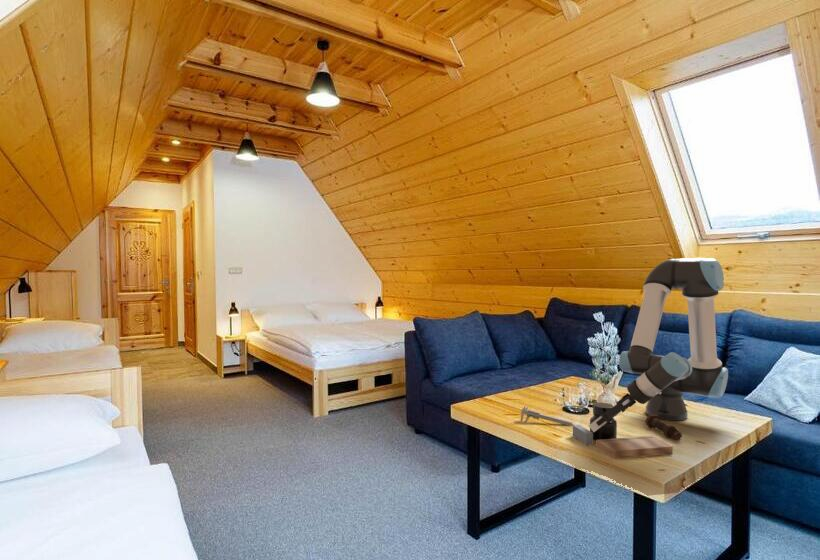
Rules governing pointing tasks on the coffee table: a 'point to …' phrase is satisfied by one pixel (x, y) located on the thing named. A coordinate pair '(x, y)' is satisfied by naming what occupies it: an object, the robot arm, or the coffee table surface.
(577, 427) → the block
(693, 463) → the coffee table surface
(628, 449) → the board
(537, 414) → the caliper
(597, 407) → the ink bottle
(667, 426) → the bolt
